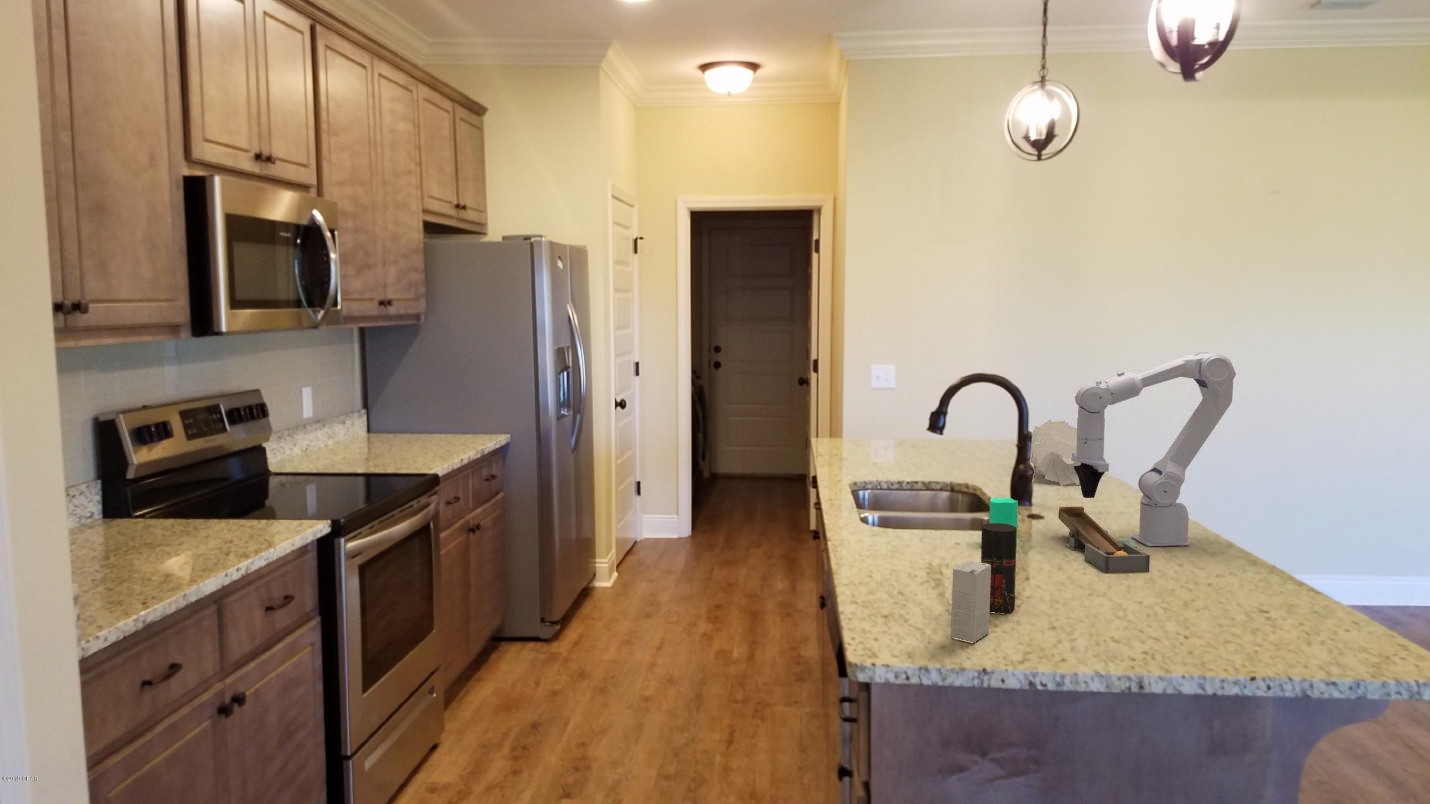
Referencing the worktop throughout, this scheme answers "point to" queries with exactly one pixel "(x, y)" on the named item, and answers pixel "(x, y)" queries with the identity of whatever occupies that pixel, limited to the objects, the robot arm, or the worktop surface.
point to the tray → (1118, 559)
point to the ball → (1120, 553)
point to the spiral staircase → (1055, 451)
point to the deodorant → (1000, 564)
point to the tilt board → (1090, 530)
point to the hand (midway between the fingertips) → (1088, 497)
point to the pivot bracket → (1075, 542)
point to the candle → (1004, 511)
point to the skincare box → (970, 601)
